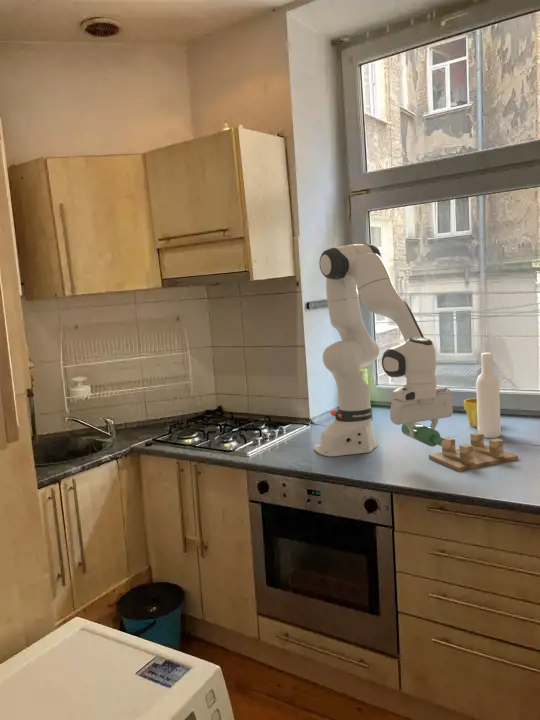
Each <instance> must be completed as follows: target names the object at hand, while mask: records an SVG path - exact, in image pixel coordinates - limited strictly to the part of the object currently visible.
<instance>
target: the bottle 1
mask: <svg viewBox="0 0 540 720" xmlns="http://www.w3.org/2000/svg"><path fill="white" fill-rule="evenodd" d="M412 427H413V429H414V430H416V431H417V433H416V434H417V436H414V437H412V436H410V430H409V429H408V427H407V426H406V424H401V433H402V434H403V435H405V436H407V437H408V438H411V439H412V440H416V441H417V442H420V443H423V444H424V445H427V446H429V447H432V448H433V447H435V446H437V445H438V446H440V447H441V448H442V447H443V448H445V449H449V448H450V447H451V441H450V440H448V439H444V438H445V437H444V438H443V437H442V436H441V434H440V432H439V431H438V430H436V429H435V430H433V429H431V428H428V427H429V426H426V425H423V424H421V423H419V422H414V426H412Z"/></svg>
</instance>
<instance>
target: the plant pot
mask: <svg viewBox="0 0 540 720" xmlns="http://www.w3.org/2000/svg"><path fill="white" fill-rule="evenodd" d="M463 409H464V411H466V412H465V413H466V417H467V419H468V422H469V423H468V424H469V426H470V427H473V428H478V419H477V397H476V398H475V397H474V398H467V399H464V400H463Z"/></svg>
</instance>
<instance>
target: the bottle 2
mask: <svg viewBox="0 0 540 720" xmlns="http://www.w3.org/2000/svg"><path fill="white" fill-rule="evenodd" d="M480 359H481V362H480V363H481V373H480V374H479V375H478V376H477V378H476V381H475V386H476V387H475V388H476V389H475V390H476V398H477V419H478V427H477V432H479V433H482V434H484V439H485V438H486V439H496V438H500V436H501V435H502V427H501V425H502V424H501V401H500V400H501V399H500V395H501V394H500V381H499V379H498V376H497V375H496V374H495V373H494V372H493V353H492V352H482V353H481V355H480Z"/></svg>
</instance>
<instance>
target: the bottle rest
mask: <svg viewBox="0 0 540 720" xmlns="http://www.w3.org/2000/svg"><path fill="white" fill-rule="evenodd" d="M444 439H448V440H450V441H451V447H450V448H449V449H445V448H443V447H442V446H441V450H442V451H441V452H438V453H437V452H436V453H431V454H428V459H430V460H431V461H434V462H435V463H439V464H440V465H443V466H445V467H447V468H450V469H452V470H454V471H457V472H462V471H467V470H474V469H478V468H483V467H487V466H488V467H489V466H493V465H498V464H502V463H507V462H512V461H516V460H519V455H517V454H514V453H511V452H508V451H506V450H504V440H503V439H501V438H498V437H496V438H490V439H489V440H488V444H485V438H484V434H482V433H479V432H478V431H477V432H471V433H470V438H469V439H470V444H469V443H465V444H459V446H458V447H459V448H458V449H456V439H455V438H453V437H451V436H450V437H444Z"/></svg>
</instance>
